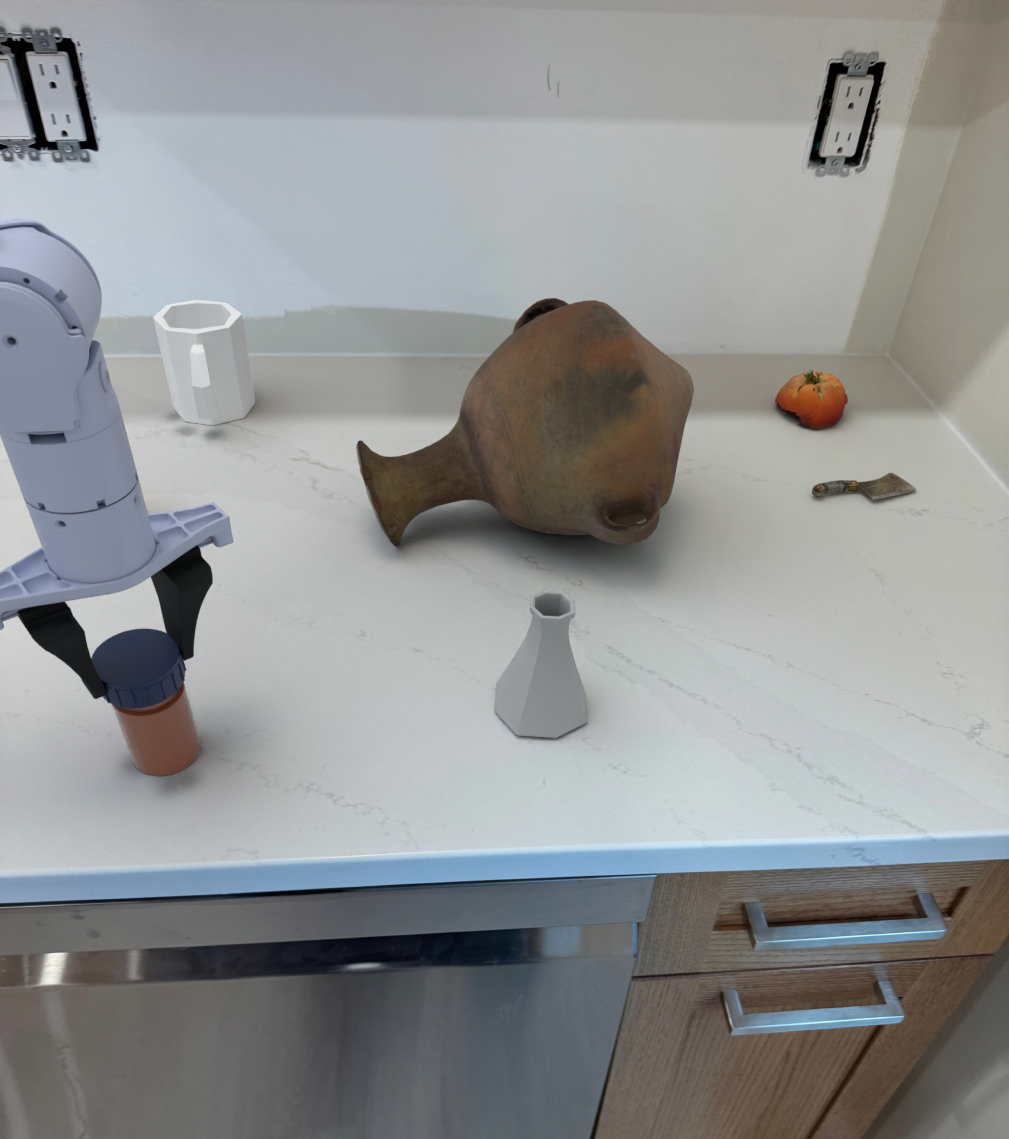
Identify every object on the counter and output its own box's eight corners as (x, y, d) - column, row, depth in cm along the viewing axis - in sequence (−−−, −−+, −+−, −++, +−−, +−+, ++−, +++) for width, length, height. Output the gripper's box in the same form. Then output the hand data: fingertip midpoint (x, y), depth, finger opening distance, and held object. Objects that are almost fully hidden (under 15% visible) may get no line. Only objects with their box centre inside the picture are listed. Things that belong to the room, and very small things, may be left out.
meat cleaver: (924, 503, 91) (902, 478, 94) (928, 493, 90) (906, 468, 94) (815, 502, 89) (797, 476, 93) (819, 492, 88) (801, 466, 92)
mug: (174, 390, 99) (154, 301, 92) (254, 386, 100) (240, 298, 93) (171, 446, 90) (149, 352, 83) (258, 440, 92) (244, 348, 85)
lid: (200, 686, 57) (195, 663, 56) (117, 722, 54) (108, 699, 53) (165, 640, 60) (159, 617, 58) (84, 672, 57) (75, 649, 56)
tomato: (784, 374, 106) (835, 345, 100) (816, 420, 108) (868, 394, 102) (756, 409, 102) (807, 380, 96) (790, 456, 104) (842, 431, 98)
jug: (666, 468, 93) (382, 523, 92) (657, 265, 82) (334, 326, 81) (736, 551, 76) (389, 620, 75) (735, 310, 65) (329, 387, 64)
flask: (508, 749, 64) (517, 646, 57) (481, 680, 69) (486, 577, 62) (602, 731, 66) (622, 630, 59) (569, 665, 71) (584, 564, 64)
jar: (140, 785, 60) (111, 705, 54) (125, 739, 63) (95, 658, 57) (209, 761, 62) (187, 682, 56) (190, 718, 64) (168, 638, 59)
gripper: (177, 414, 53) (216, 593, 62) (-92, 492, 46) (-1, 680, 55) (234, 467, 49) (266, 648, 58) (-48, 561, 42) (40, 750, 51)
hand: (140, 668), depth 57 cm, fingers closed on lid, 5 cm apart
